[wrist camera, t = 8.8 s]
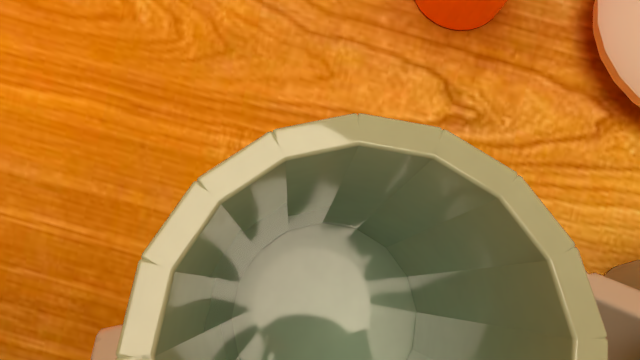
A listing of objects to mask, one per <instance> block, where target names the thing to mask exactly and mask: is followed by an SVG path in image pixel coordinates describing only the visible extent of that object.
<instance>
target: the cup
mask: <svg viewBox="0 0 640 360" xmlns="http://www.w3.org/2000/svg"><path fill="white" fill-rule="evenodd" d="M604 277H607V278H609V279H612V280H614V281H617V282H620V283H622V284H625V285H627V286H630V287H632V288H635V289H637V290H640V260H636V261H633V262H629V263H625V264H622V265H619V266H616V267H614V268H612V269H611V270H610V271H609V272H608V273H607V274H606V275H605V276H604Z"/></svg>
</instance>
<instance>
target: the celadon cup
mask: <svg viewBox="0 0 640 360" xmlns="http://www.w3.org/2000/svg"><path fill="white" fill-rule="evenodd" d="M574 246H575V243H574V242H573V240H572V239H571V238H570V237H569V235H568V234H567V233H566V232H565V230H564V229H563V228H562V227H561V225H560V224H559V223H558V222H557V220H556V219H555V218H554V217H553V215H552V214H551V213H550V212H549V210H548V209H547V208H546V207H545V205H544V204H543V203H542V202H541V200H540V199H539V198H538V197H537V195H536V194H535V193H534V192H533V190H532V189H531V188H530V187H529V185H528V184H527V183H526V182H525V180H524V179H523V178H522V177H521V176H520V175H518V176H517V173H516V172H515V171H514V170H512V169H510V168H509V167H507V166H505V165H504V164H502V163H500V162H499V161H497V160H495V159H494V158H492V157H490V156H489V155H487V154H485V153H484V152H482V151H481V150H479V149H477V148H476V147H474V146H472V145H471V144H469V143H467V142H466V141H464V140H462V139H461V138H459V137H457V136H456V135H454V134H452V133H451V132H449V131H447V130H444V129H443V130H442V129H441V128H440V127H435V126H429V125H424V124H418V123H412V122H407V121H401V120H396V119H390V118H384V117H379V116H373V115H368V114H362V113H361V114H358V115H357V114H354V113H353V114H348V115H343V116H338V117H333V118H328V119H323V120H318V121H313V122H308V123H303V124H298V125H293V126H288V127H283V128H278V129H275V130H273V132H267V133H266V134H264V135H263V136H261V137H260V138H258V139H257V140H255V141H253V142H252V143H250V144H249V145H247V146H246V147H244V148H243V149H241V150H240V151H238V152H236V153H235V154H233V155H232V156H230V157H229V158H227V159H226V160H224V161H223V162H221V163H220V164H218V165H216V166H215V167H213V168H212V169H210V170H209V171H207V172H206V173H204V174H203V175H201V176H199V178H198V179H197V181H195V182H193V183H192V185H191V186H190V187H189V189H188V190H187V192H186V193H185V194H184V196H183V197H182V199H181V200H180V201H179V203H178V204H177V206H176V207H175V208H174V210H173V211H172V213H171V214H170V215H169V217H168V218H167V220H166V221H165V222H164V224H163V225H162V227H161V228H160V229H159V231H158V232H157V234H156V235H155V236H154V238H153V239H152V241H151V242H150V244H149V245H148V246H147V248H146V249H145V251H144V252H143V253H142V256H141V258H142V259H140V261H139V262H138V265H137V269H136V273H135V277H134V281H133V285H132V289H131V293H130V297H129V301H128V305H127V309H126V313H125V317H124V321H123V326H122V330H121V334H120V338H119V342H118V346H117V350H116V357H117V358H116V359H115V360H608V340H607V339H605V338H606V337H607V333H606V330H605V327H604V324H603V321H602V318H601V315H600V312H599V309H598V306H597V303H596V300H595V297H594V294H593V291H592V289H591V286H590V283H589V280H588V277H587V274H586V271H585V268H584V265H583V262H582V259H581V256H580V253H579V250H578V249H577V248H576V247H574Z"/></svg>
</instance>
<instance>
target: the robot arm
mask: <svg viewBox="0 0 640 360" xmlns="http://www.w3.org/2000/svg"><path fill="white" fill-rule="evenodd" d="M586 274H587V277H588V280H589V283H590V286H591V289H592V291H593V294H594V297H595V300H596V303H597V306H598V309H599V312H600V315H601V318H602V321H603V324H604V327H605V330H606V333H607V337H606V338H605V339H607V340H608V360H640V290H637V289H635V288H632V287H630V286H627V285H625V284H622V283H620V282H617V281H614V280H612V279H609V278H607V277H604V276H602V275H599V274H597V273H592V274H588V273H587V272H586ZM122 326H123V324H122V325H117V326H113V327H108V328H103V329H101V330H100V331H99V333H98V334H97V336H96V339H95V343H94V348H93V352H92V356H91V360H115V359H116V358H117V357H116V350H117V346H118V342H119V338H120V334H121V330H122Z"/></svg>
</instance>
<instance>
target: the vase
mask: <svg viewBox="0 0 640 360" xmlns="http://www.w3.org/2000/svg"><path fill="white" fill-rule="evenodd" d="M593 34H594V37H595V41H596V45H597V49H598V52H599V56H600V58H601V60H602V62H603V64H604V65H605V67H606V69H607V71H608V72H609V74H610V76H611V78H612V80H613V81H614V82H615V83H616V85H617V86H618V87H619V88H620V89H621V90H622V91H623V92H624V93H625V94H626V95H627V97H628V98H629V99H630V100H631V101H632V102H633V103H634V104H636V105H637V106H639V107H640V0H595V3H594V6H593Z"/></svg>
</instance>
